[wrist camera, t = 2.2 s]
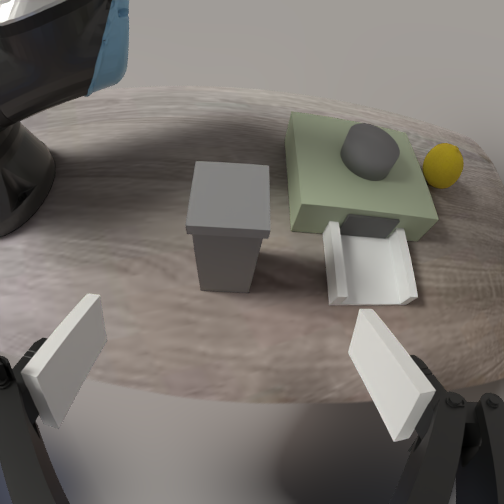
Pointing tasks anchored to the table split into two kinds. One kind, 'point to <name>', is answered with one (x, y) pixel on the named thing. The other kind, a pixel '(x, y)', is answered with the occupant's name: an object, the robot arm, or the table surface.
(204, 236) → the gray capped pillar
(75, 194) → the table surface
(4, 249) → the table surface
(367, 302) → the green block with knob
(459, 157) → the lemon
